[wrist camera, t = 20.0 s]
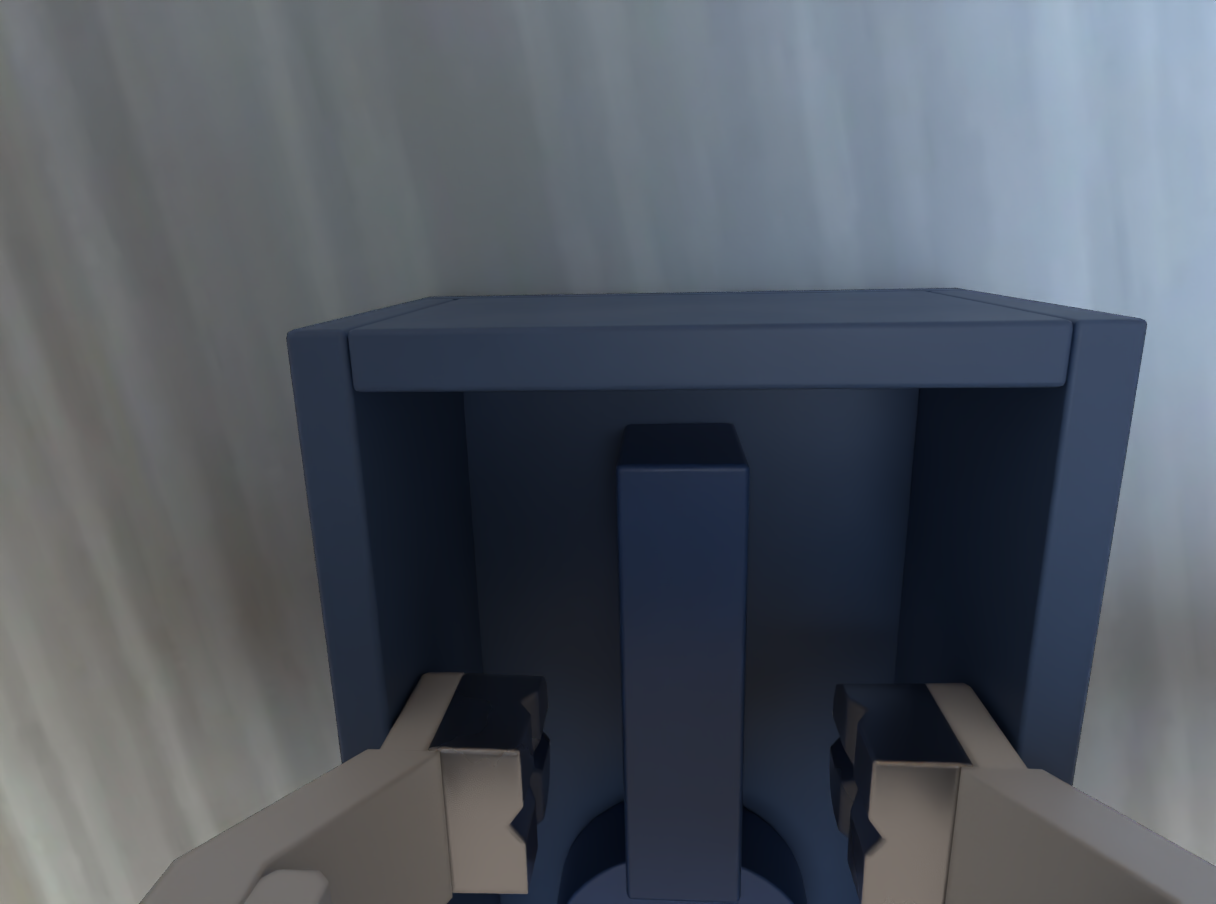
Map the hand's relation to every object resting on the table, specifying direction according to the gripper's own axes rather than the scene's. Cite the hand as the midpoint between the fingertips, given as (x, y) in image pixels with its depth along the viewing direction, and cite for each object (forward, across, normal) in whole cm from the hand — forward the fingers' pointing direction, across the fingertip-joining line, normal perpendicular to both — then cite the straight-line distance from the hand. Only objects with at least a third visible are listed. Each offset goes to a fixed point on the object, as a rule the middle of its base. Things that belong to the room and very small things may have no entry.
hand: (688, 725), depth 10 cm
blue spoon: (+3, 0, +2) cm, 3 cm away
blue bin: (+3, 0, +2) cm, 4 cm away
